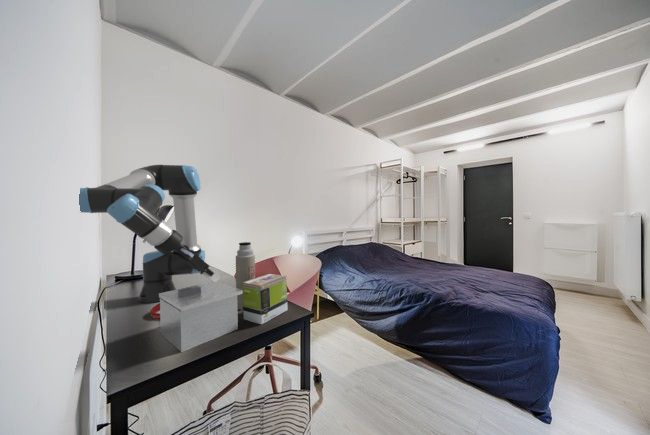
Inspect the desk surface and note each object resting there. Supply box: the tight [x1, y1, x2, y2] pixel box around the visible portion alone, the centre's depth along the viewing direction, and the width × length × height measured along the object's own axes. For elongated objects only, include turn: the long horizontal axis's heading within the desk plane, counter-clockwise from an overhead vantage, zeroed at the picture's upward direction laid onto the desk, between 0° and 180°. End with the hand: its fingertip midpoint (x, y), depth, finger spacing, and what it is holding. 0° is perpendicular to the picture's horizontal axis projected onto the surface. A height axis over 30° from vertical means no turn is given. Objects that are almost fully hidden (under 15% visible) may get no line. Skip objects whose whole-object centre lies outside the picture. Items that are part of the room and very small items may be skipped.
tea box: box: [242, 273, 288, 325], centre depth 95 cm, size 15×10×15 cm, turn 149°
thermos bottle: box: [235, 241, 256, 311], centre depth 105 cm, size 8×8×28 cm
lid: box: [159, 281, 243, 311], centre depth 83 cm, size 20×20×3 cm
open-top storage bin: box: [159, 295, 239, 353], centre depth 83 cm, size 18×18×12 cm
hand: (217, 279), depth 87 cm, fingers closed
